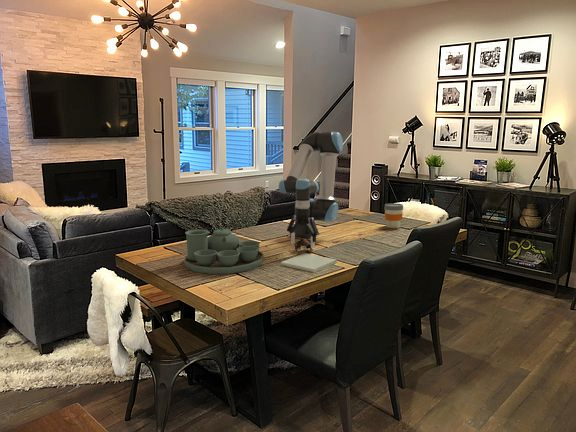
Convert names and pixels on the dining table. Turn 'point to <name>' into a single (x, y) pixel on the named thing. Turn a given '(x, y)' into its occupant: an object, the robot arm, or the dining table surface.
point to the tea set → (220, 252)
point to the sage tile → (309, 262)
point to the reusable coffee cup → (393, 215)
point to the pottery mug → (303, 244)
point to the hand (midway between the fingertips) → (302, 246)
